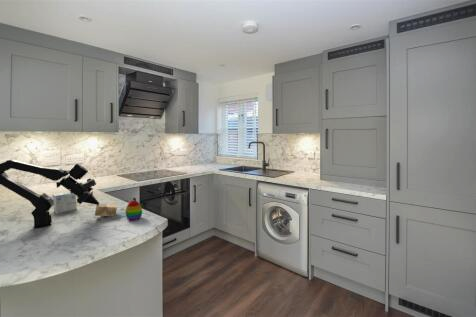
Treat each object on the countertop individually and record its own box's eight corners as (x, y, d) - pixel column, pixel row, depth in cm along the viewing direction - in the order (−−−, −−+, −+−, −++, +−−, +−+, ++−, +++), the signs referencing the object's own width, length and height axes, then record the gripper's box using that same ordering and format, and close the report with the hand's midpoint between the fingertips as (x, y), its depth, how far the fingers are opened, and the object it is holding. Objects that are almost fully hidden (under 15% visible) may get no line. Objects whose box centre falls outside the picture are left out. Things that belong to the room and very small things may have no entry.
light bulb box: (73, 207, 158) (72, 190, 157) (77, 209, 154) (76, 192, 153) (53, 211, 150) (51, 194, 149) (56, 213, 146) (55, 195, 145)
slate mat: (100, 220, 132) (100, 217, 132) (101, 215, 141) (101, 212, 141) (126, 216, 138) (125, 213, 138) (125, 211, 147) (125, 209, 147)
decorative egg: (123, 219, 133) (122, 201, 132) (137, 215, 139) (136, 198, 138) (130, 222, 128) (129, 203, 127) (145, 218, 134) (144, 200, 133)
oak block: (96, 206, 133) (117, 207, 137) (97, 203, 138) (117, 204, 143) (94, 215, 133) (115, 216, 137) (95, 212, 138) (115, 213, 143)
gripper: (82, 176, 124) (109, 196, 129) (87, 172, 141) (110, 189, 146) (65, 194, 121) (92, 213, 127) (71, 187, 138) (96, 204, 144)
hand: (98, 204), depth 136 cm, fingers closed
